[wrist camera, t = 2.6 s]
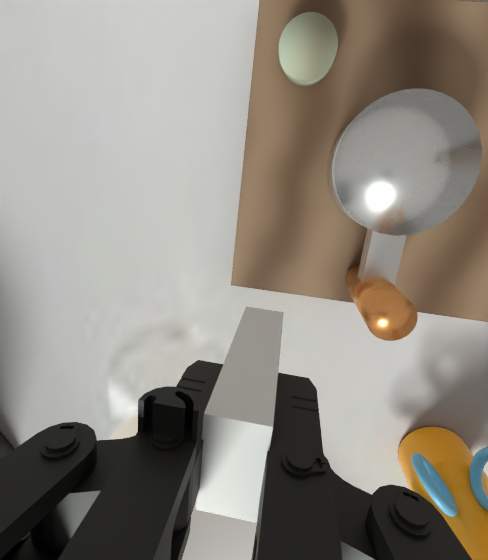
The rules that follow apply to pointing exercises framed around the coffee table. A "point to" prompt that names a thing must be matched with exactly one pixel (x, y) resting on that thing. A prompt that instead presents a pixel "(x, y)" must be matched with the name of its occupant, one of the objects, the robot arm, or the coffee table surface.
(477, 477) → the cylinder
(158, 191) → the coffee table surface
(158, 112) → the coffee table surface
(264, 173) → the base
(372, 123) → the knob
